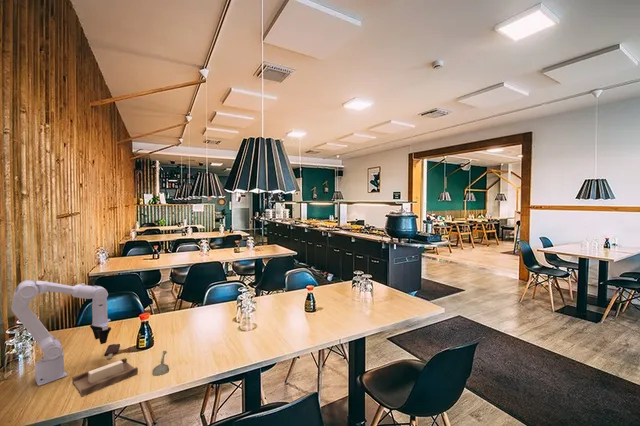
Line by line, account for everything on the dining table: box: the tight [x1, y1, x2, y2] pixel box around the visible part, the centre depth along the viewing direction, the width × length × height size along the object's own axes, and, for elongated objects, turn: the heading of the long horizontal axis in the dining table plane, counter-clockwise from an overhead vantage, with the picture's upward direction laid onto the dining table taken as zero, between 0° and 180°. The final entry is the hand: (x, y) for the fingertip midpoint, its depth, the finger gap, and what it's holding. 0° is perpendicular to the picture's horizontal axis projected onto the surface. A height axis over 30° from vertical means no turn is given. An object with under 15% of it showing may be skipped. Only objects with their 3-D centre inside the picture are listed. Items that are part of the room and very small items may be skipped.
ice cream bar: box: [103, 343, 121, 360], centre depth 153 cm, size 5×2×15 cm
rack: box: [71, 357, 139, 397], centre depth 131 cm, size 20×14×3 cm
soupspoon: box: [152, 350, 170, 377], centre depth 143 cm, size 22×3×7 cm
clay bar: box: [87, 359, 123, 384], centre depth 131 cm, size 12×3×4 cm, turn 141°
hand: (100, 340), depth 143 cm, fingers open, 7 cm apart
